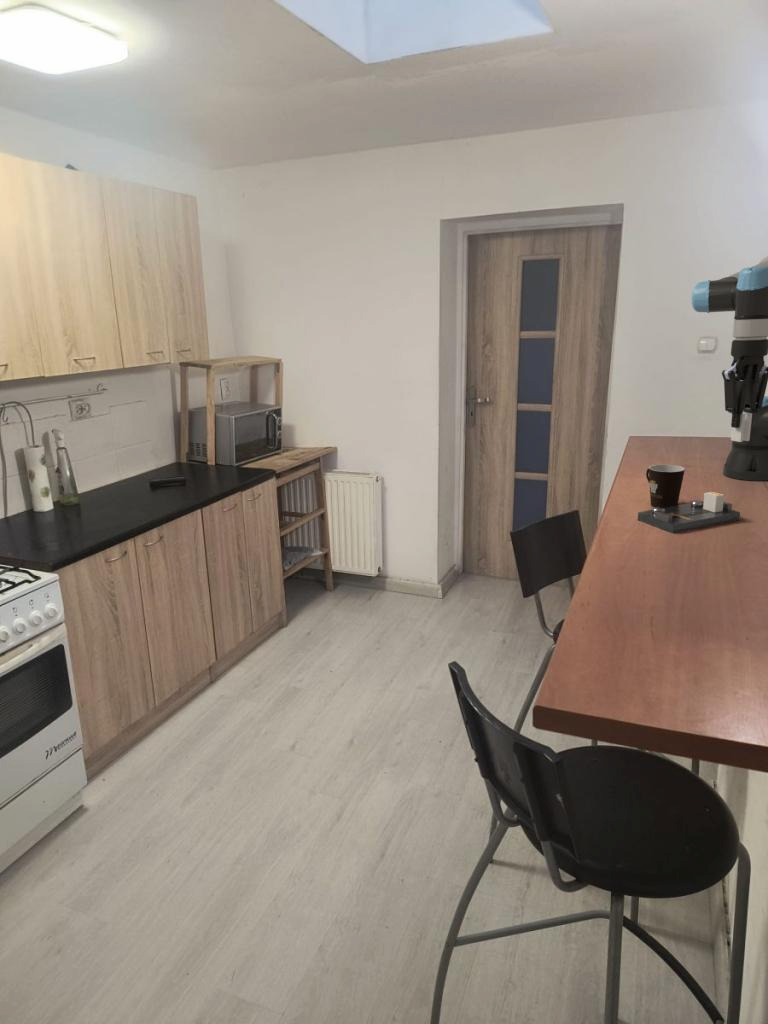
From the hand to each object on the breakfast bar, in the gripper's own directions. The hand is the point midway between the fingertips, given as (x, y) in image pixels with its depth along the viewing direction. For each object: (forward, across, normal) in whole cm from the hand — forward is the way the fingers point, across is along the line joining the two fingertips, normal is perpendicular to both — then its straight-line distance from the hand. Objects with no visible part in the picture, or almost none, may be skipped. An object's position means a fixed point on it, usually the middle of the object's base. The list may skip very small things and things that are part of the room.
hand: (740, 440), depth 159 cm
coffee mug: (+19, +8, -15) cm, 25 cm away
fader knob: (+16, +7, 0) cm, 18 cm away
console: (+18, +12, -2) cm, 22 cm away
